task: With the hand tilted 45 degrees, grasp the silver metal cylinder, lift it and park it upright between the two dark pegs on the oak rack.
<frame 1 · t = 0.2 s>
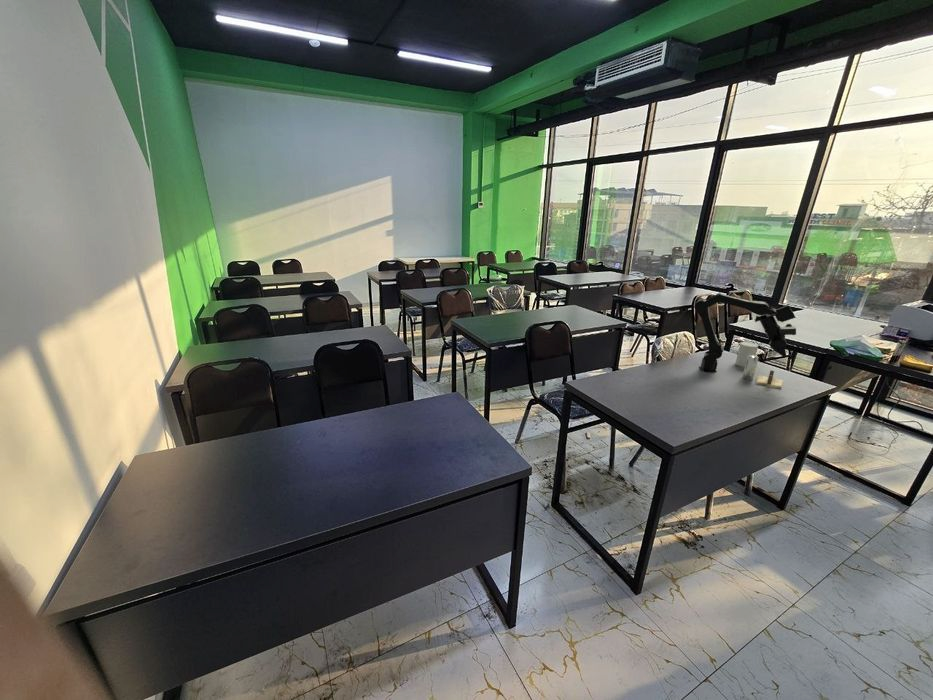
hand: (784, 354, 192), 15 cm above the table, tool tilted 35°, fingers open, 9 cm apart
silver metal cylinder: (747, 378, 203), on the table
peg rack: (769, 382, 197), on the table
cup: (744, 364, 221), on the table
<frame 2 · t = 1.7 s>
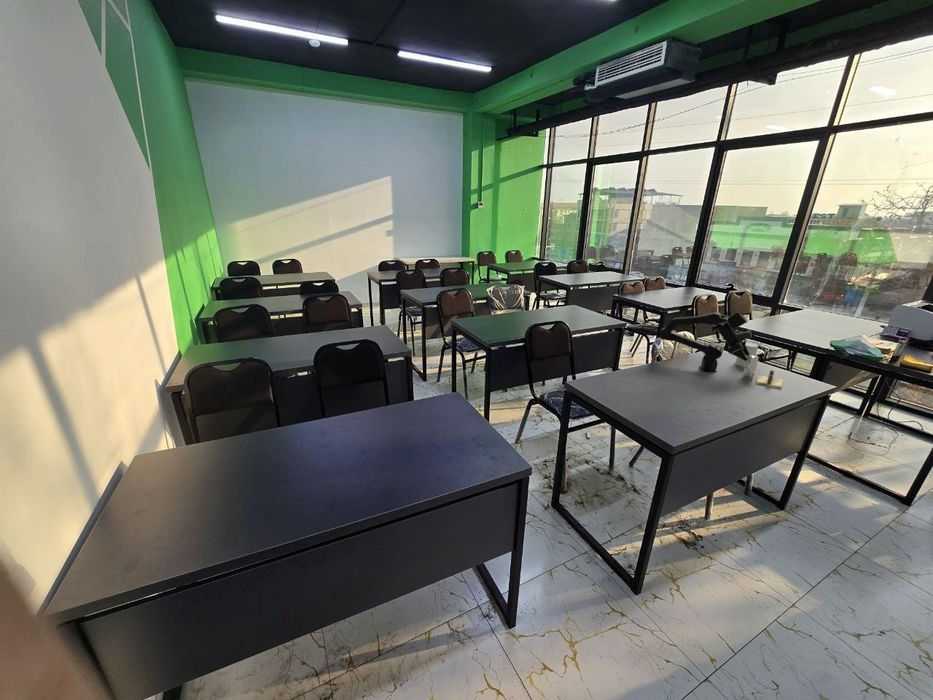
hand: (747, 358, 200), 11 cm above the table, tool tilted 45°, fingers open, 9 cm apart
nothing on the table moved.
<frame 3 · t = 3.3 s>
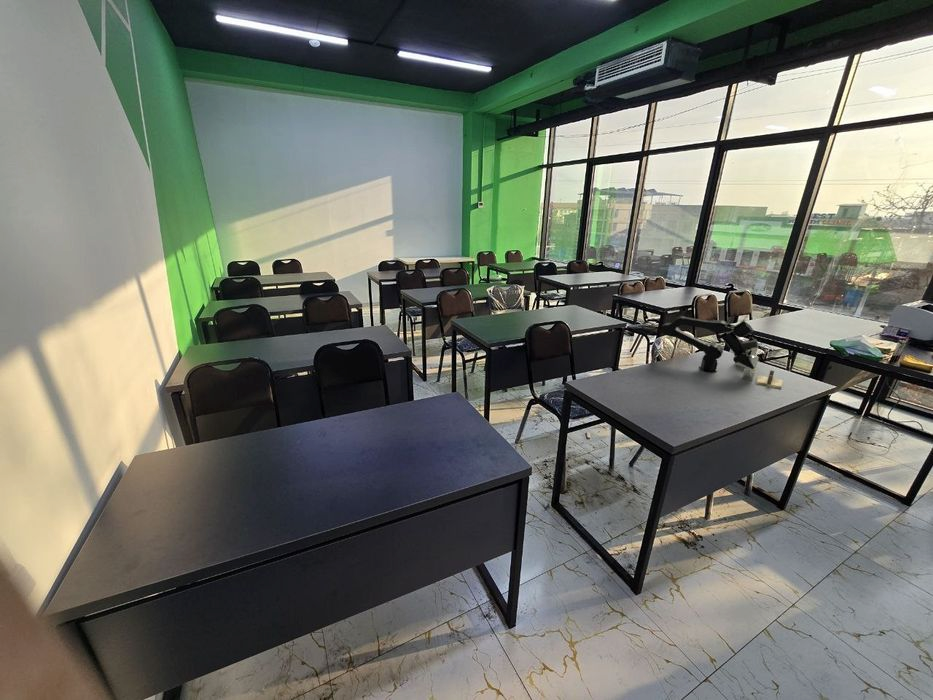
hand: (753, 367, 200), 7 cm above the table, tool tilted 45°, fingers closed on silver metal cylinder, 5 cm apart
silver metal cylinder: (747, 378, 203), on the table, touching gripper
everything else where it was.
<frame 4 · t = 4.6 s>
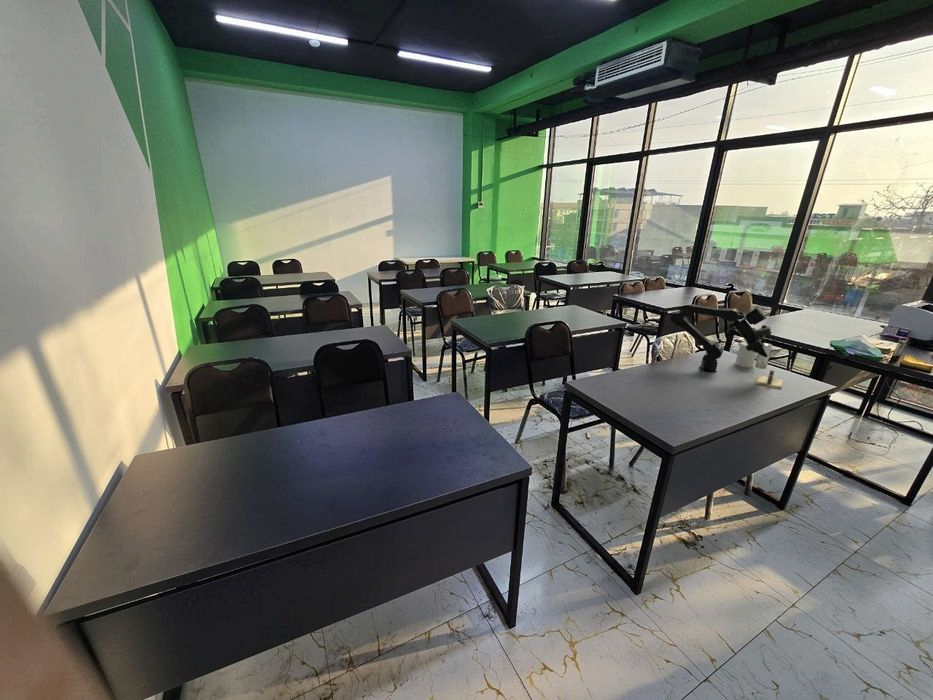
hand: (767, 355, 195), 14 cm above the table, tool tilted 45°, fingers closed on silver metal cylinder, 5 cm apart
silver metal cylinder: (760, 367, 198), point 7 cm above the table, touching gripper
everything else where it was.
when the fingers open (9 cm above the table, at t = 6.3 s): silver metal cylinder drops 1 cm, resting on peg rack.
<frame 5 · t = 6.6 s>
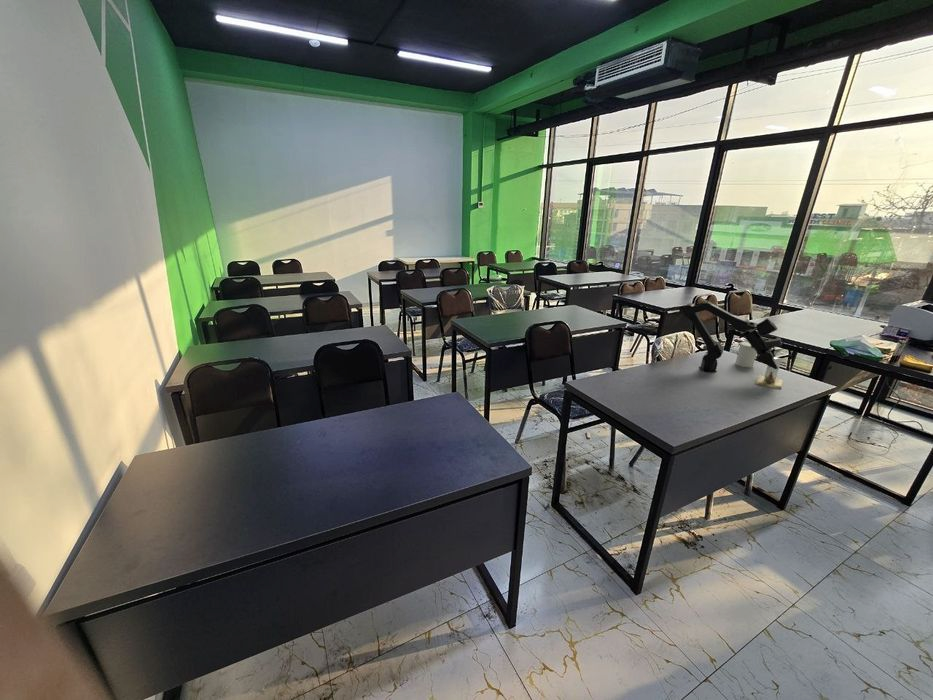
hand: (777, 366, 193), 9 cm above the table, tool tilted 45°, fingers open, 7 cm apart
silver metal cylinder: (769, 380, 197), point 1 cm above the table, touching peg rack
everything else where it was.
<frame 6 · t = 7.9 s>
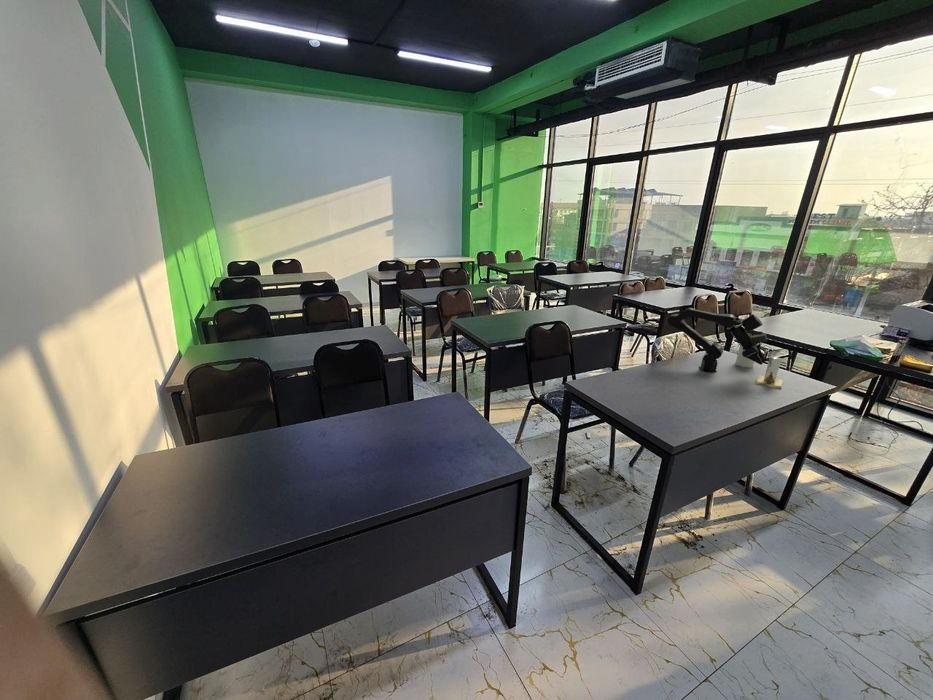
hand: (762, 361, 197), 10 cm above the table, tool tilted 45°, fingers open, 9 cm apart
nothing on the table moved.
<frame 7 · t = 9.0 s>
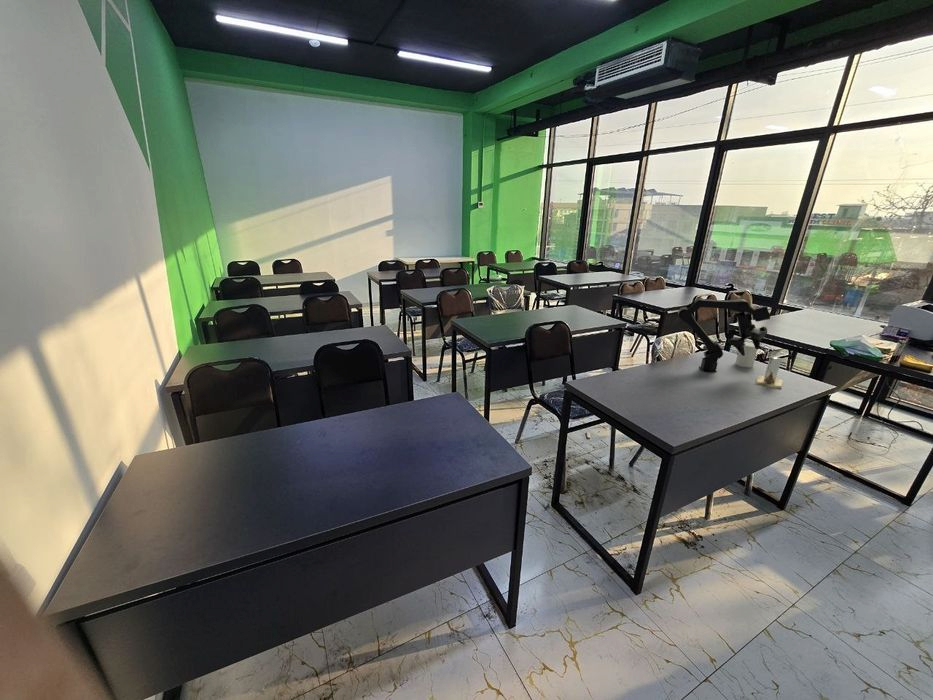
hand: (750, 352, 202), 13 cm above the table, tool tilted 20°, fingers open, 9 cm apart
nothing on the table moved.
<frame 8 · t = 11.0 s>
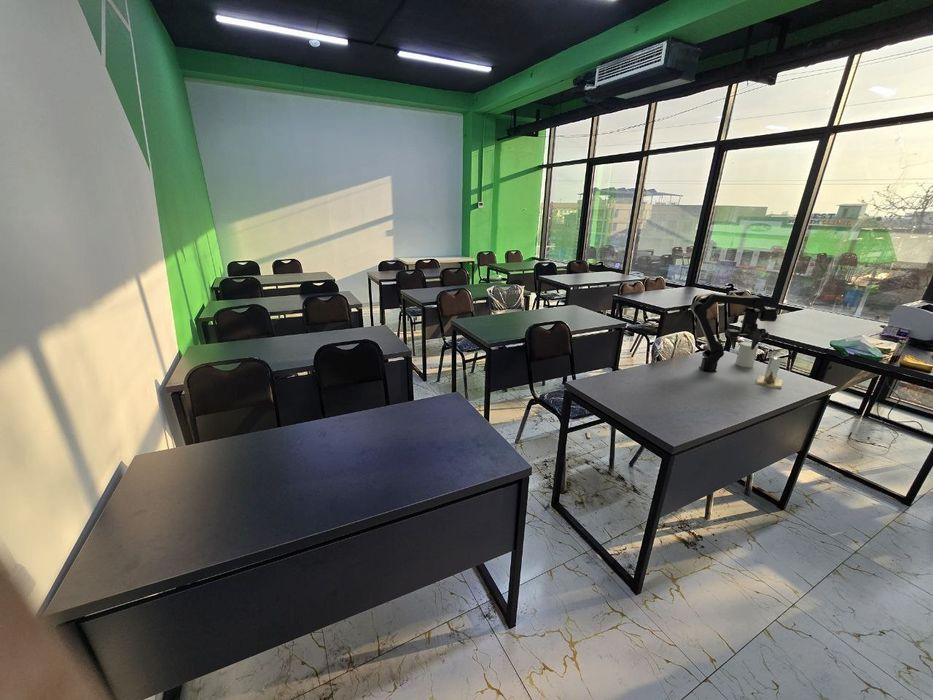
hand: (742, 349, 206), 13 cm above the table, tool pointing down, fingers open, 9 cm apart
nothing on the table moved.
at the end: silver metal cylinder 0.1 cm off-centre on the peg rack, point 1.2 cm above the peg rack's base; silver metal cylinder tilted 0°; the gripper is holding nothing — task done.
